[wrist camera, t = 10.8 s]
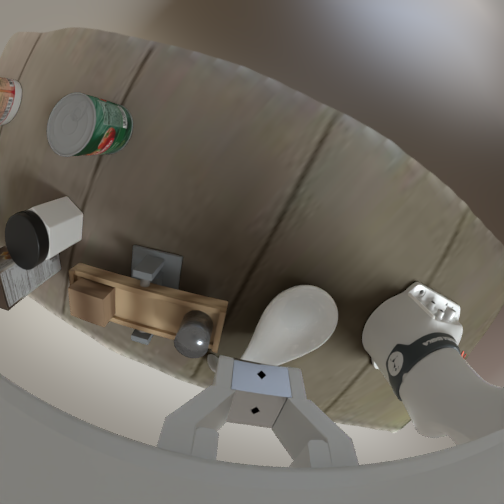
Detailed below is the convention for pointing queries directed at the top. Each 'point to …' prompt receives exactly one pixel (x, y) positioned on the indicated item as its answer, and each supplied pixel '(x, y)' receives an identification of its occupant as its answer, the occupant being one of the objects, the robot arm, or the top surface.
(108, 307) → the block
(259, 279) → the top surface
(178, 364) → the top surface
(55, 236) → the jar
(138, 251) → the stand
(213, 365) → the spoon rest
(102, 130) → the canned tomato
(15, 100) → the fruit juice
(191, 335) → the cylinder
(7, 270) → the coffee box
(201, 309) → the beam
